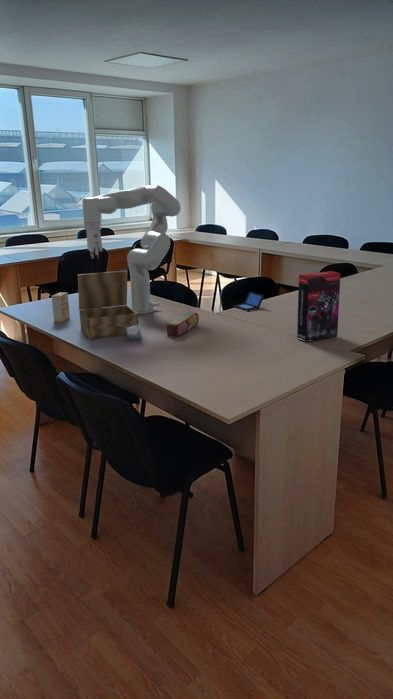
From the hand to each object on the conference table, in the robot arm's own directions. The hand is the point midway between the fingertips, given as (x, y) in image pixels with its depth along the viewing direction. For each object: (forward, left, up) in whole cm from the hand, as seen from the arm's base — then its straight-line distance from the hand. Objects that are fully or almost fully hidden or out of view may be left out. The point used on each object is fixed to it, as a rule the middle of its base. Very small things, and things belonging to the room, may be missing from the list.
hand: (95, 266), depth 241 cm
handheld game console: (-77, +8, -27) cm, 82 cm away
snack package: (-30, +32, -27) cm, 51 cm away
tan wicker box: (0, +18, -26) cm, 32 cm away
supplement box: (+16, -10, -26) cm, 32 cm away
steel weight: (-6, +35, -26) cm, 44 cm away
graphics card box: (-76, +67, -26) cm, 105 cm away
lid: (0, +12, -9) cm, 15 cm away
